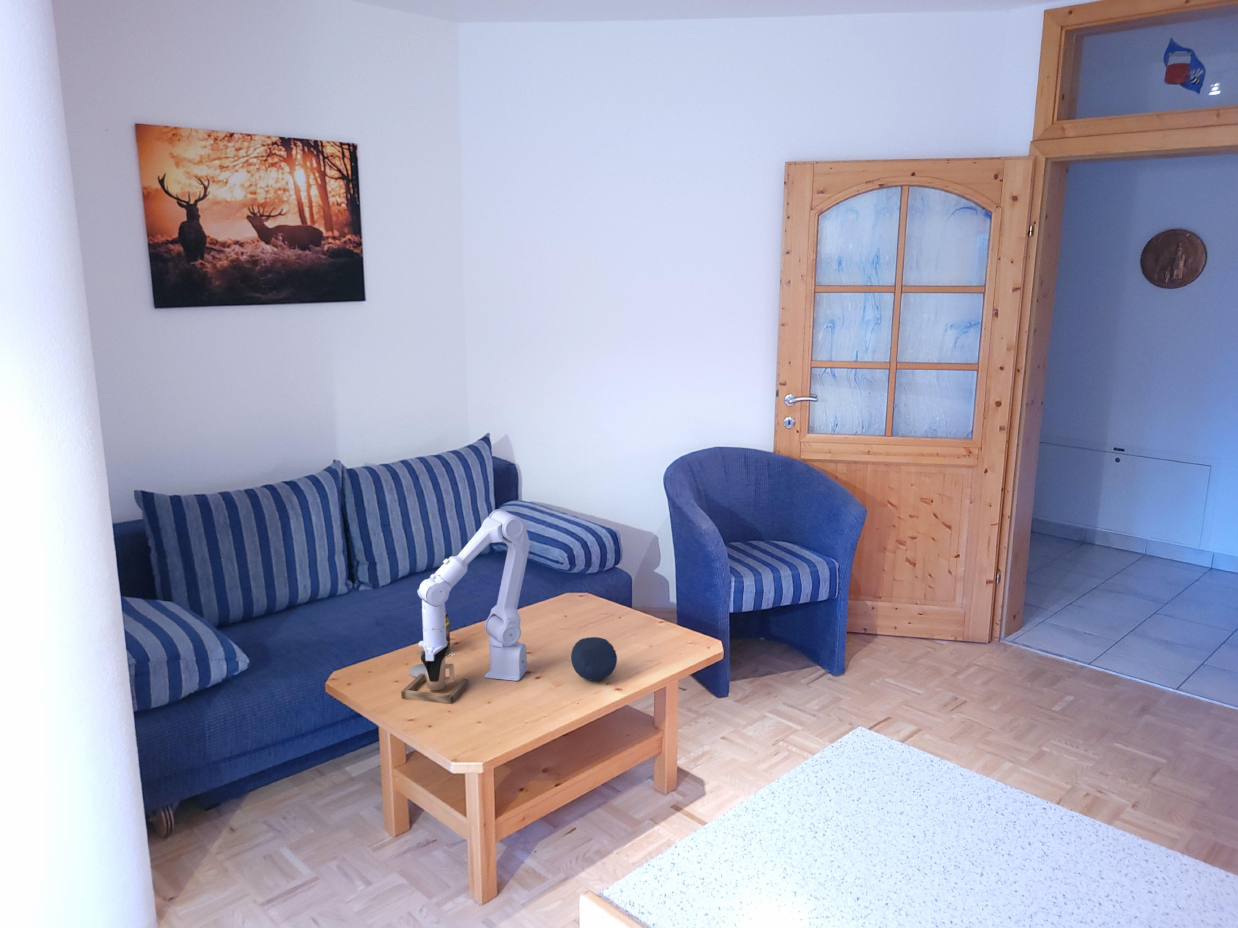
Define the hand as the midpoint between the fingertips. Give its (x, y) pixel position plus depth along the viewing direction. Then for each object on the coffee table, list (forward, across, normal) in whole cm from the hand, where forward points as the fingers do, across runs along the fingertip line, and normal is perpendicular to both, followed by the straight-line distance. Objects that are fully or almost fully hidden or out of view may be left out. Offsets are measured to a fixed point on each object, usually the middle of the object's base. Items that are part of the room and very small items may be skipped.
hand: (436, 676), depth 238 cm
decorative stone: (+4, -8, +40) cm, 41 cm away
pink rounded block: (+3, 0, +1) cm, 3 cm away
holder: (+4, 0, 0) cm, 4 cm away
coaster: (+4, -12, -5) cm, 13 cm away
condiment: (+4, -24, -4) cm, 24 cm away
